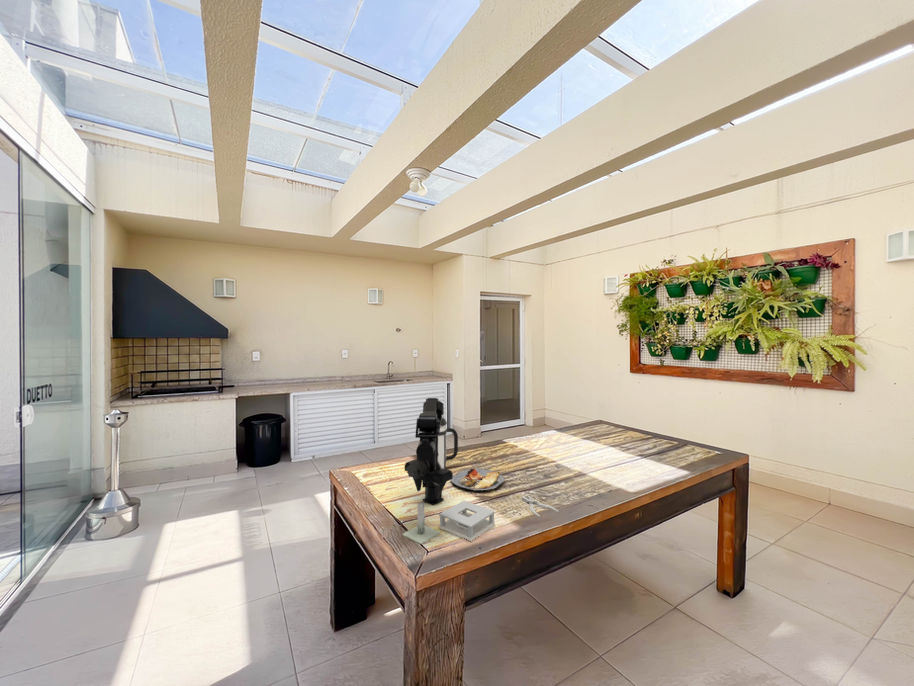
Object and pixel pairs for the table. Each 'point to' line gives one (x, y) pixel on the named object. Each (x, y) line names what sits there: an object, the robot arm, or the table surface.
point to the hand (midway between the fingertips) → (428, 494)
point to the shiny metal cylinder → (421, 518)
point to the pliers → (536, 504)
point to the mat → (418, 538)
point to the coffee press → (442, 444)
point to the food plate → (474, 475)
